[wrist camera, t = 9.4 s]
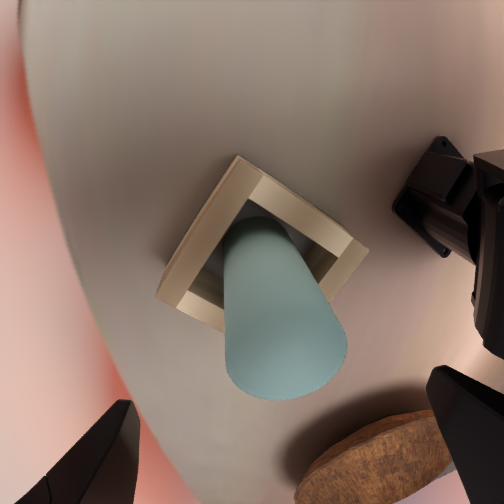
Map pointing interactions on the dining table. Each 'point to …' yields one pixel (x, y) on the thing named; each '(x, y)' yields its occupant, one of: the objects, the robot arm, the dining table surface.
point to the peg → (276, 315)
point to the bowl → (378, 463)
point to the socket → (233, 211)
